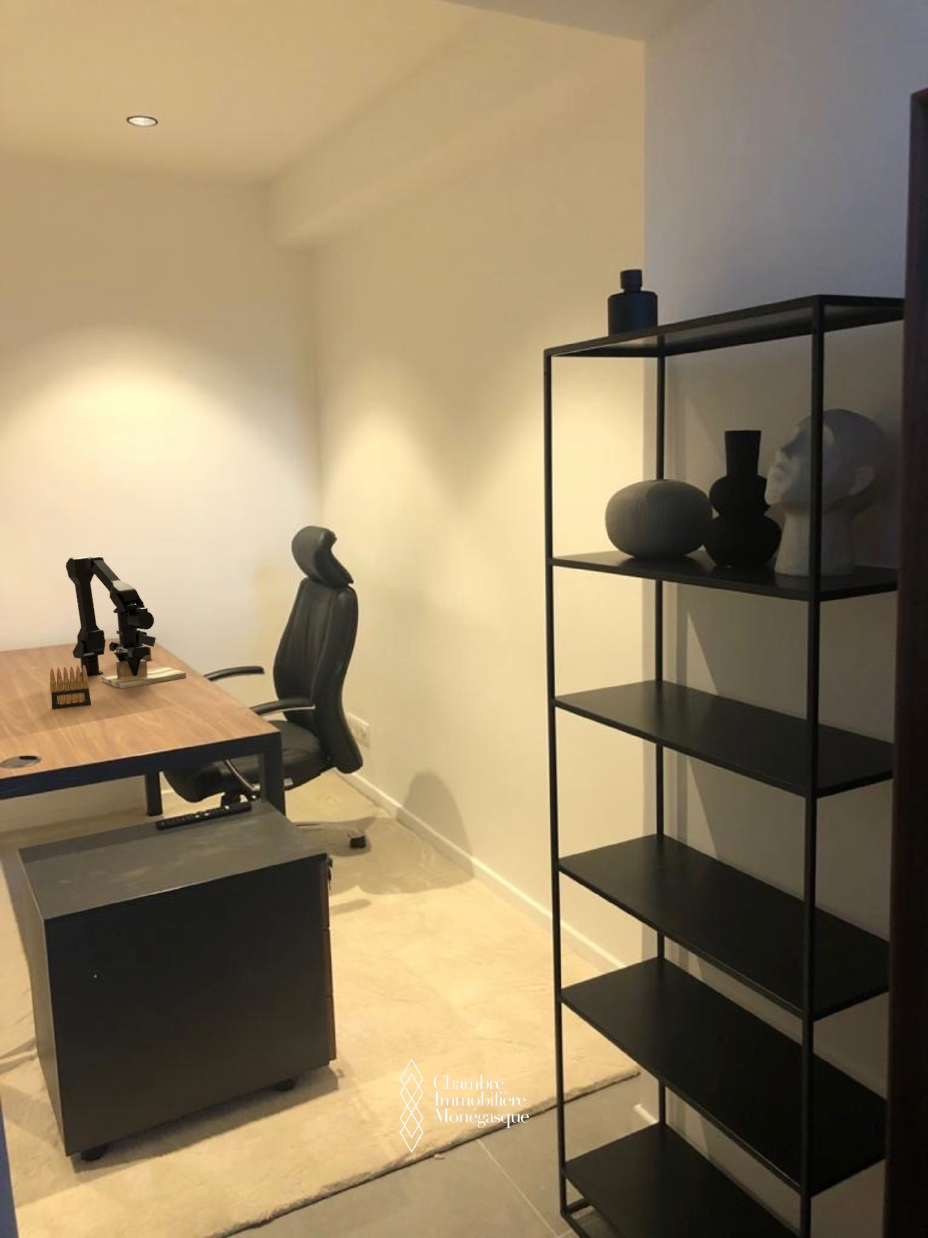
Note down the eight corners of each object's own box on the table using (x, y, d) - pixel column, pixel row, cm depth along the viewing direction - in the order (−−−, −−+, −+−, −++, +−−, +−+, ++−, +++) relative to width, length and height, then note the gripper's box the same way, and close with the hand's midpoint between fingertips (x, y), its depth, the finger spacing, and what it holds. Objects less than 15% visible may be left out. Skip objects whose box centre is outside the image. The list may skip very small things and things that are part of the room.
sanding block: (117, 677, 328) (115, 662, 328) (140, 673, 334) (139, 658, 333) (123, 679, 325) (122, 664, 324) (147, 675, 330) (146, 660, 329)
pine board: (102, 681, 330) (102, 677, 330) (166, 670, 345) (165, 666, 344) (121, 688, 319) (120, 683, 319) (186, 677, 334) (185, 672, 333)
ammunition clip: (90, 703, 300) (87, 664, 298) (91, 705, 299) (87, 665, 297) (52, 708, 296) (48, 668, 294) (52, 709, 295) (48, 669, 293)
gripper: (164, 626, 325) (167, 674, 327) (139, 621, 339) (143, 666, 341) (130, 631, 318) (134, 680, 320) (106, 625, 331) (110, 672, 334)
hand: (131, 674), depth 329 cm, fingers closed on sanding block, 5 cm apart
